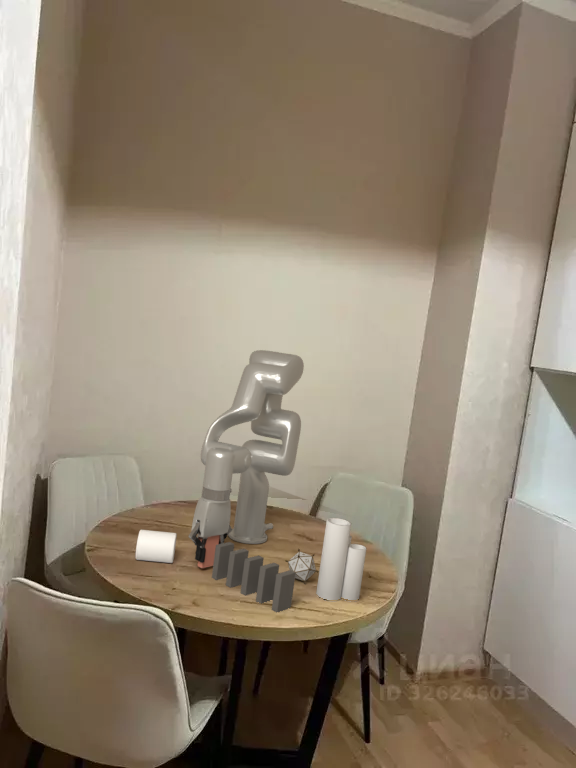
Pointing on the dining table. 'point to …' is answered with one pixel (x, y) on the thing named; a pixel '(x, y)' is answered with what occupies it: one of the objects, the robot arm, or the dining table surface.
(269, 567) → the black tile
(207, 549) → the red tile
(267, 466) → the robot arm
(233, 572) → the dark gray domino tile
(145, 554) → the mug
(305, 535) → the dining table surface
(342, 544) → the vase
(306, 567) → the game die
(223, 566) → the black tile
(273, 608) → the grey domino block
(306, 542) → the dining table surface
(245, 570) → the black tile
